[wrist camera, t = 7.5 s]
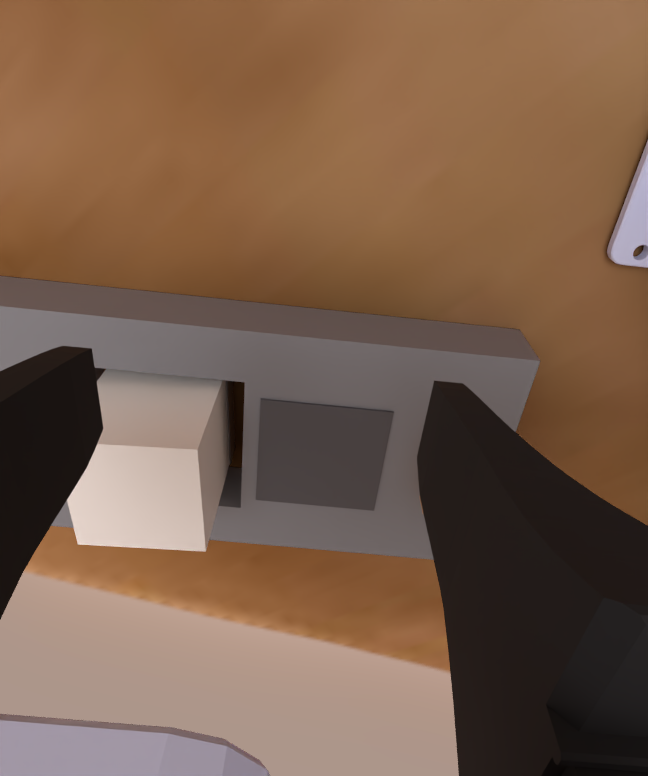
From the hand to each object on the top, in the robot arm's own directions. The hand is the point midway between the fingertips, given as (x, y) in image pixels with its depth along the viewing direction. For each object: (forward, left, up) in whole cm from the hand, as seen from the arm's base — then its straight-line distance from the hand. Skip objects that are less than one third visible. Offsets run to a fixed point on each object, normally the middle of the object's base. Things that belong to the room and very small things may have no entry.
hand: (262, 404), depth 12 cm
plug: (+4, +6, -9) cm, 12 cm away
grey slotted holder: (+1, +7, -9) cm, 11 cm away
